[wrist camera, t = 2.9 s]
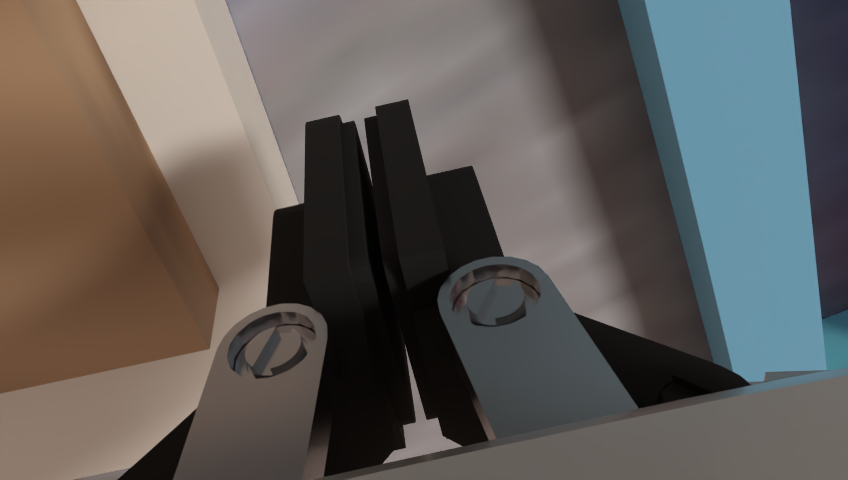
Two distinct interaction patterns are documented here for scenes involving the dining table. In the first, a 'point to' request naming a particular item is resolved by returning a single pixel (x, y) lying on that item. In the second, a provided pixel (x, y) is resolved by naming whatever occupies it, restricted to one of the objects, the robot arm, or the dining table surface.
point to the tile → (84, 215)
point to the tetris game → (737, 177)
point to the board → (204, 213)
